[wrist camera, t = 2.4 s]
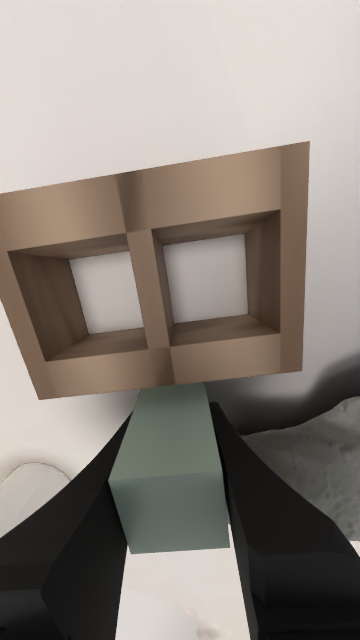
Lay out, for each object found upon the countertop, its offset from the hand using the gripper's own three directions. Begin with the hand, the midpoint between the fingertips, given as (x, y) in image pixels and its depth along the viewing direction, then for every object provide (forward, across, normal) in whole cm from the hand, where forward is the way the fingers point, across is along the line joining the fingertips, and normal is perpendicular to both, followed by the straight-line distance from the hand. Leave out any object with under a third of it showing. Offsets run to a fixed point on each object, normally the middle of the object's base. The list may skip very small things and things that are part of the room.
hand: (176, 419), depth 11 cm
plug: (+2, 0, 0) cm, 2 cm away
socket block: (+2, 0, -8) cm, 8 cm away
